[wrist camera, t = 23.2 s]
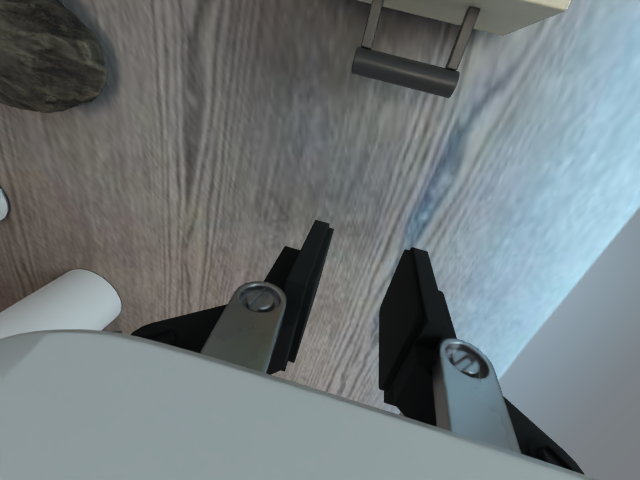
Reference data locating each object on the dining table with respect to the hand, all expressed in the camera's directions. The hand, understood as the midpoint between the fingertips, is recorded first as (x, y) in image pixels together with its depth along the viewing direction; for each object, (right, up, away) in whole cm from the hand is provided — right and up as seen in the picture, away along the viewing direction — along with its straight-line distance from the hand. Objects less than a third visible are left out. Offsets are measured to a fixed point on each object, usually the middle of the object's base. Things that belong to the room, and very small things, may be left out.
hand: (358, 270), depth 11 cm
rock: (-24, +18, +15) cm, 34 cm away
